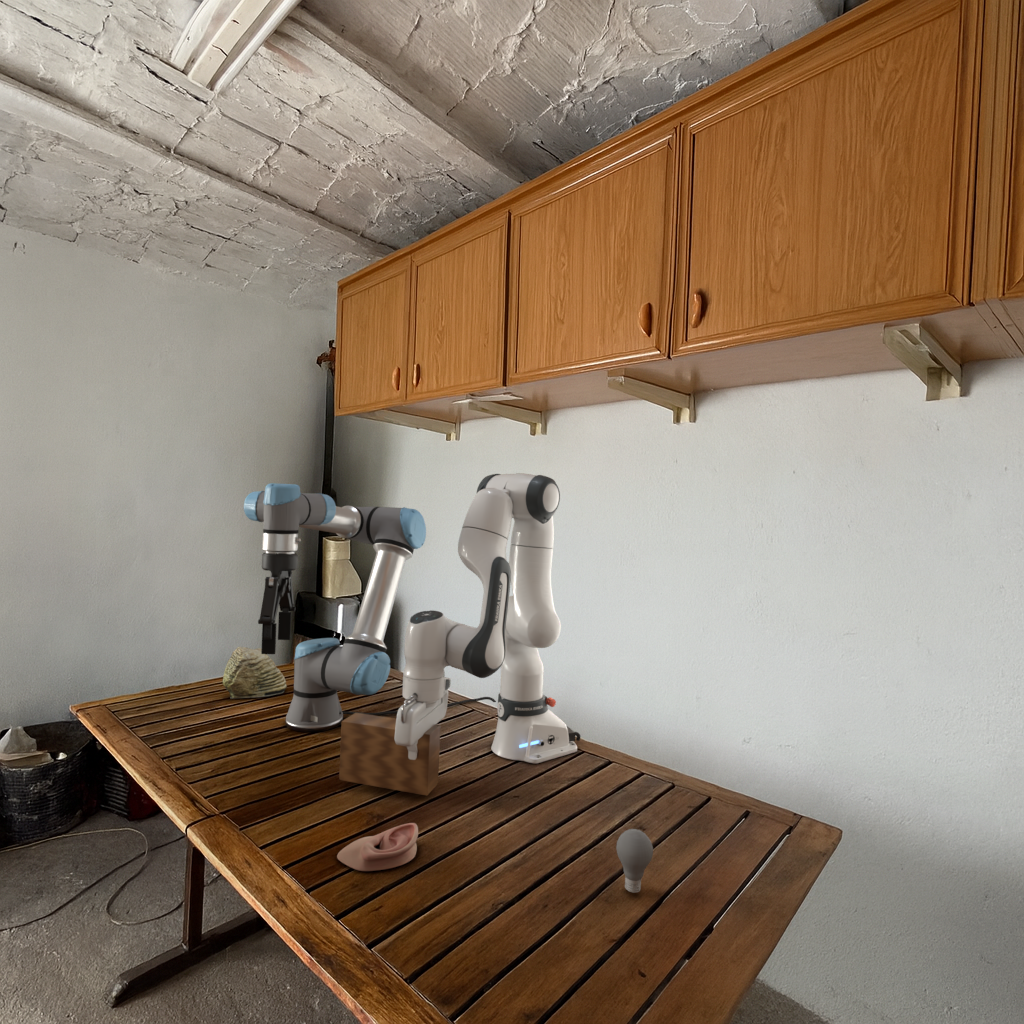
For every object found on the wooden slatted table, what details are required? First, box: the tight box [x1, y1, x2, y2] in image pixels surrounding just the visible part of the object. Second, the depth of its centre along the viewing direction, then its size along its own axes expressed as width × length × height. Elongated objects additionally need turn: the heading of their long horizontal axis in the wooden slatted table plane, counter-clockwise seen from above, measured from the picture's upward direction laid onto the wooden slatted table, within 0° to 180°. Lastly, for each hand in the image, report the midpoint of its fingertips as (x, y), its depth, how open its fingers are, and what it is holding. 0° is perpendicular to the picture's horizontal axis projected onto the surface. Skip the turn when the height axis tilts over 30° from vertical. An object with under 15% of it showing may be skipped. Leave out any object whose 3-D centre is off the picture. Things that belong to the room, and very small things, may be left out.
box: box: [338, 712, 442, 796], centre depth 138 cm, size 21×6×13 cm, turn 75°
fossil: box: [222, 646, 288, 699], centre depth 198 cm, size 9×18×15 cm, turn 132°
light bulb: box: [615, 828, 654, 894], centre depth 106 cm, size 6×6×10 cm
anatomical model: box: [336, 822, 419, 872], centre depth 113 cm, size 13×4×12 cm
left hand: (276, 646), depth 142 cm, fingers open, 13 cm apart
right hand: (420, 751), depth 136 cm, fingers closed on box, 6 cm apart
